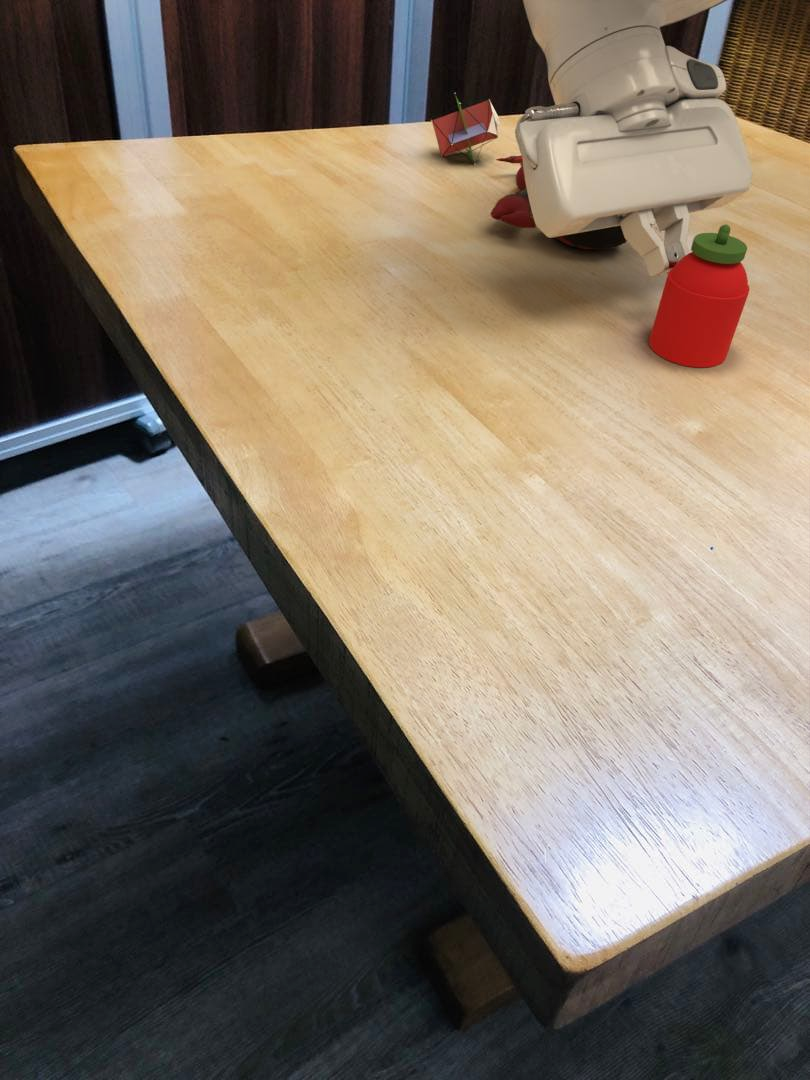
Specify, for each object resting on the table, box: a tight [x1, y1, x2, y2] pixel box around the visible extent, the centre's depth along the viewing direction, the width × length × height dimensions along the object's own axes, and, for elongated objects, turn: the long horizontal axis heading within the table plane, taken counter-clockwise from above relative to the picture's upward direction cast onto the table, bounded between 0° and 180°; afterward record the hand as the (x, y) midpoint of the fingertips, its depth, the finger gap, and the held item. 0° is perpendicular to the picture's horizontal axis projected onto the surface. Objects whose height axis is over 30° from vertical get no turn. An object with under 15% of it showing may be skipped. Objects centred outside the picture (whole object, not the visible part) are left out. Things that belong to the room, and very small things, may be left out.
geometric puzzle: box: [430, 92, 501, 166], centre depth 98 cm, size 7×7×8 cm
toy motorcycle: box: [490, 154, 628, 251], centre depth 88 cm, size 25×5×16 cm
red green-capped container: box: [648, 223, 751, 368], centre depth 65 cm, size 6×6×10 cm
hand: (671, 270), depth 67 cm, fingers closed, pressing on red green-capped container
